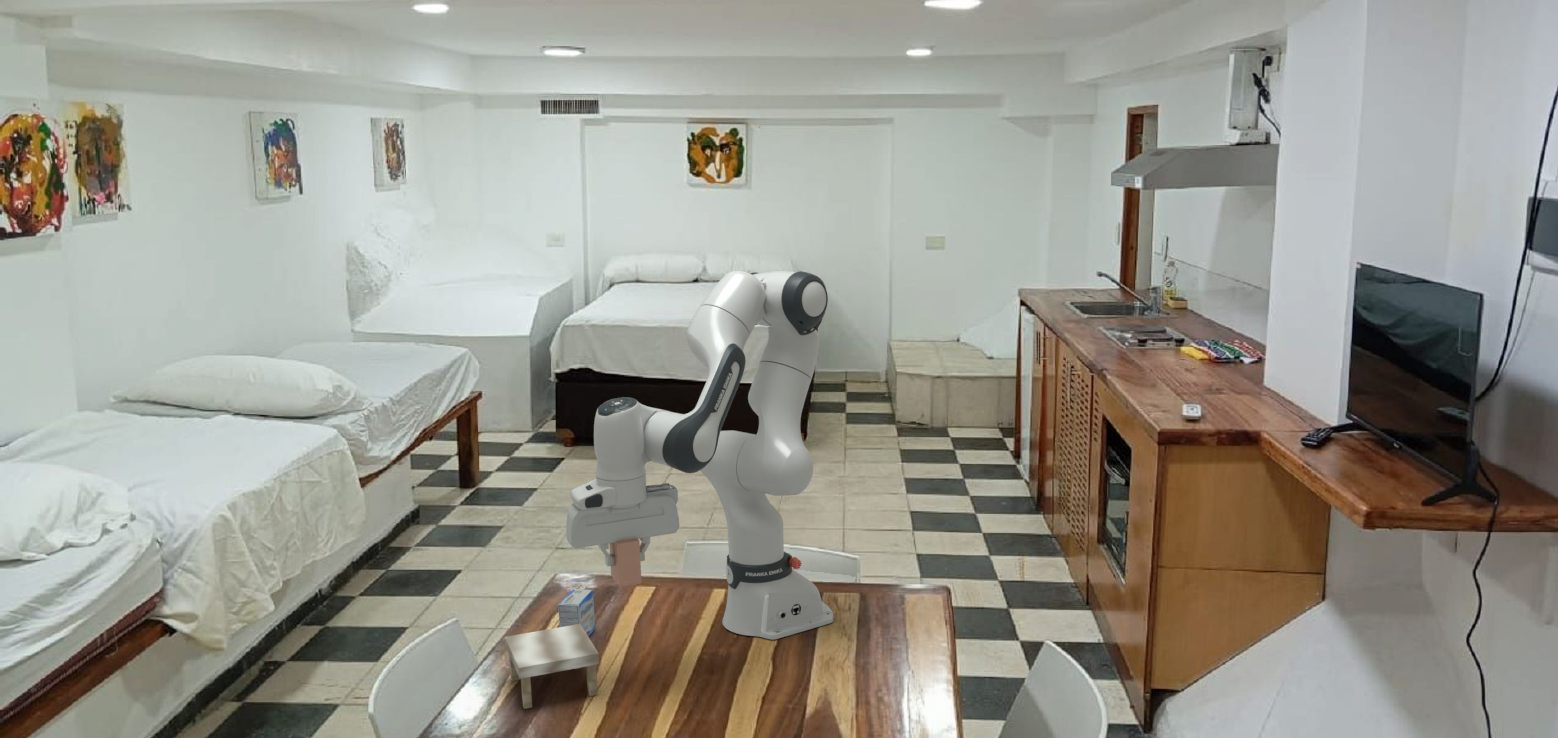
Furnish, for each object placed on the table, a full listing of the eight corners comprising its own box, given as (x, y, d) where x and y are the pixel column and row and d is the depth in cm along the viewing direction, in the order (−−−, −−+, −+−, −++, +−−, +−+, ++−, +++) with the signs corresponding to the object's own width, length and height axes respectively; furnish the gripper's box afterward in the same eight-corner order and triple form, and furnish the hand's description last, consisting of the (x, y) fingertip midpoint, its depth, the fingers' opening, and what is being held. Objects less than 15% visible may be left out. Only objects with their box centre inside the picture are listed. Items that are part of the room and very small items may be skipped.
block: (632, 571, 223) (630, 530, 222) (641, 582, 218) (639, 540, 216) (611, 575, 222) (608, 533, 220) (619, 586, 216) (617, 544, 215)
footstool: (582, 663, 228) (580, 623, 227) (600, 695, 215) (598, 653, 214) (507, 677, 223) (504, 636, 221) (521, 710, 210) (518, 667, 209)
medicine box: (581, 646, 236) (579, 604, 234) (560, 645, 236) (557, 603, 235) (595, 630, 243) (593, 589, 241) (574, 628, 244) (572, 588, 242)
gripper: (672, 476, 223) (674, 548, 226) (561, 492, 215) (566, 565, 218) (682, 486, 217) (685, 559, 220) (569, 502, 210) (574, 577, 213)
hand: (625, 562), depth 219 cm, fingers closed on block, 4 cm apart
